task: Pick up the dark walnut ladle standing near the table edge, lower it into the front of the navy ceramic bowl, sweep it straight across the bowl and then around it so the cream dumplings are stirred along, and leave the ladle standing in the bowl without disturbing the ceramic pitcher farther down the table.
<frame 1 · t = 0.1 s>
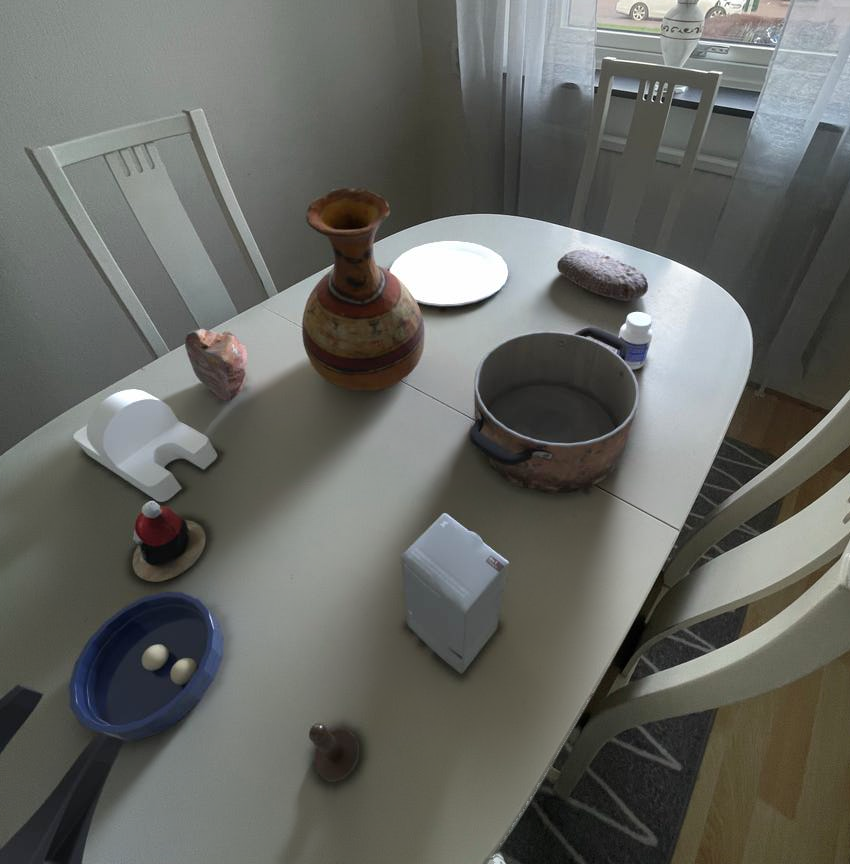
hand: (71, 711, 35), 19 cm above the table, tool horizontal, fingers open, 7 cm apart
stone: (235, 380, 87), on the table
decorative stone: (601, 284, 107), on the table
pill bottle: (628, 361, 90), on the table
figurine: (170, 550, 65), on the table
ladle: (338, 755, 49), on the table
cosmetic box: (456, 627, 58), on the table
ceramic pitcher: (370, 362, 90), on the table
tape dispenser: (152, 454, 76), on the table
dumpling b: (184, 671, 53), point 2 cm above the table, touching bowl
dumpling a: (155, 657, 54), point 2 cm above the table, touching bowl
plate: (448, 276, 110), on the table
bowl: (158, 667, 55), on the table
saucepan: (548, 434, 78), on the table
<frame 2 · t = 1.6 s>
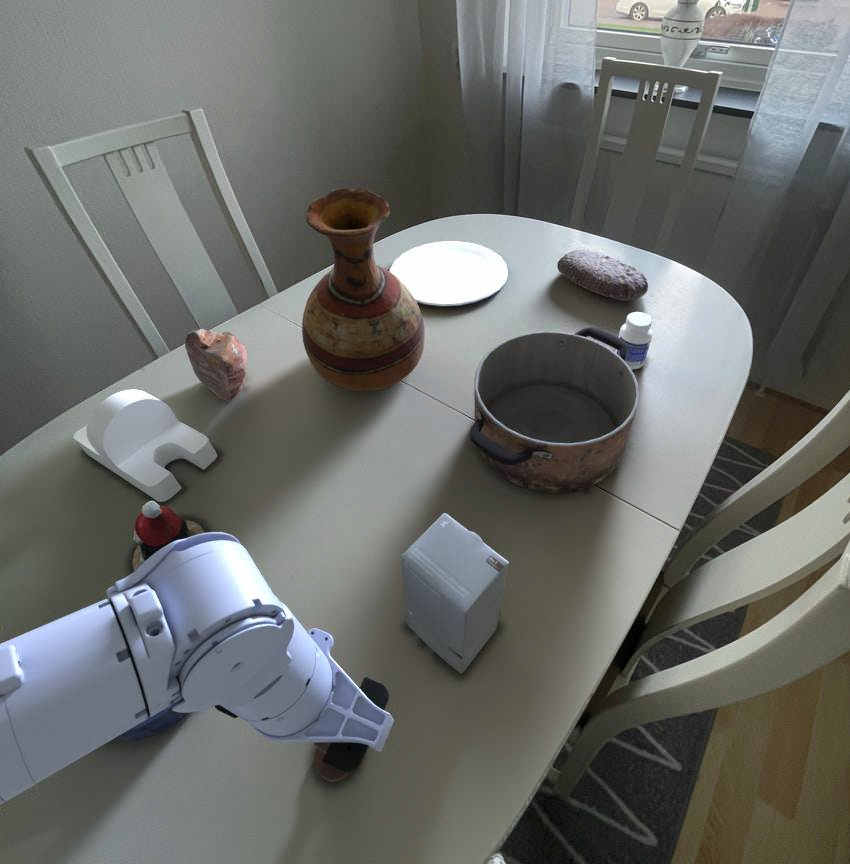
hand: (324, 718, 43), 10 cm above the table, tool pointing down, fingers open, 7 cm apart
nothing on the table moved.
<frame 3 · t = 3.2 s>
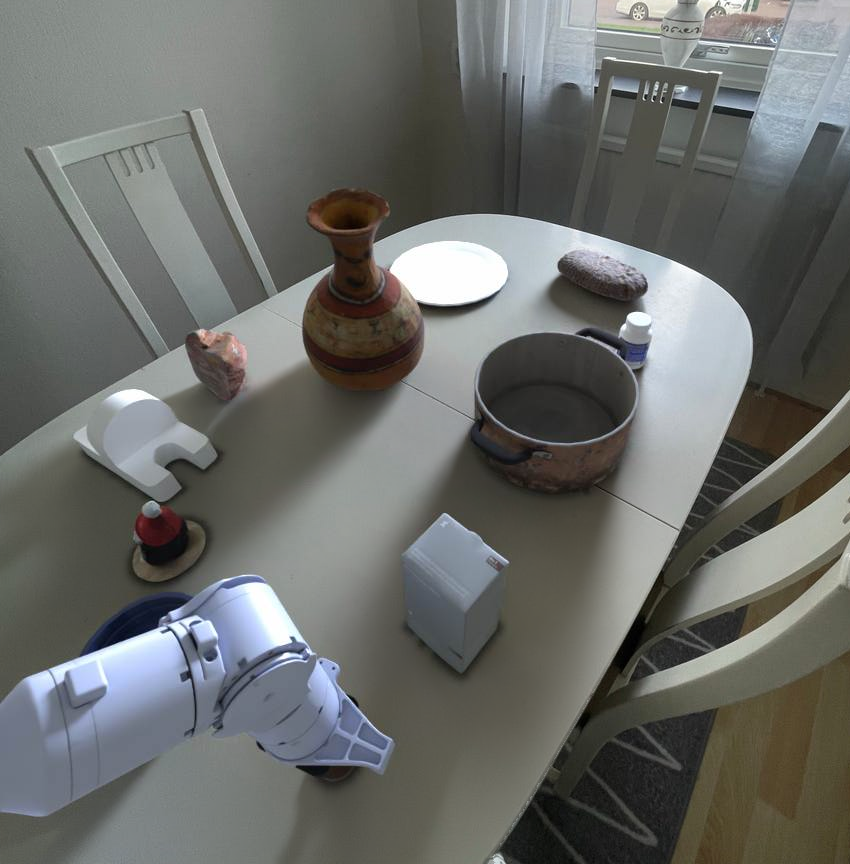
hand: (326, 742, 46), 5 cm above the table, tool pointing down, fingers closed on ladle
ladle: (338, 755, 49), on the table, touching gripper
everything else where it was.
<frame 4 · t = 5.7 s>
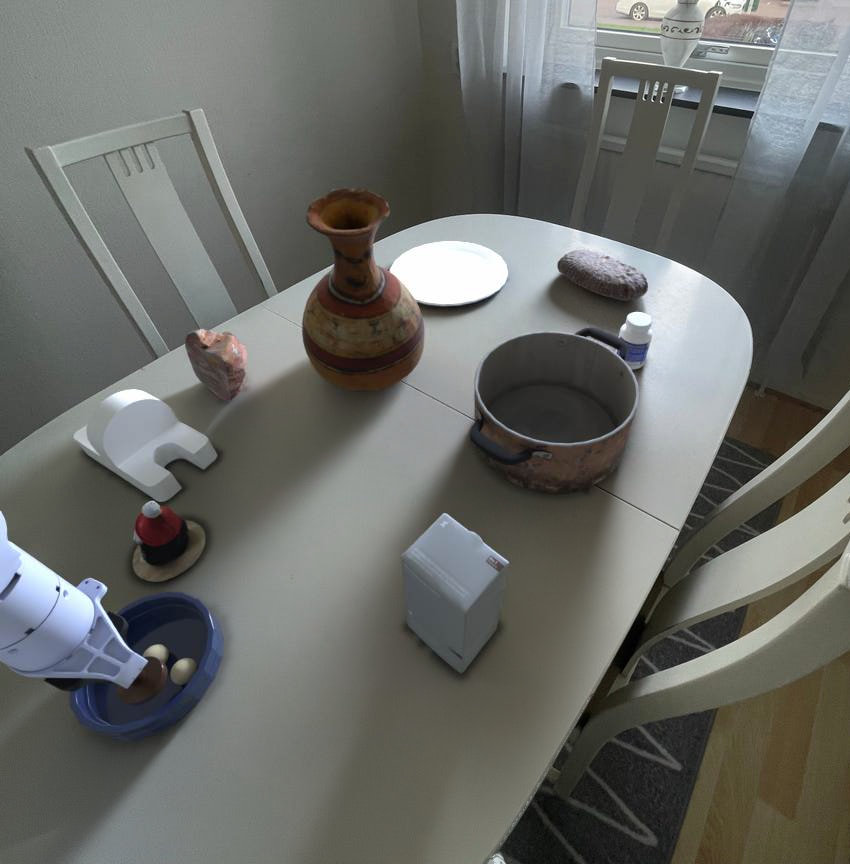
hand: (115, 665, 45), 10 cm above the table, tool pointing down, fingers closed on ladle
ladle: (145, 681, 49), point 5 cm above the table, touching gripper
everything else where it was.
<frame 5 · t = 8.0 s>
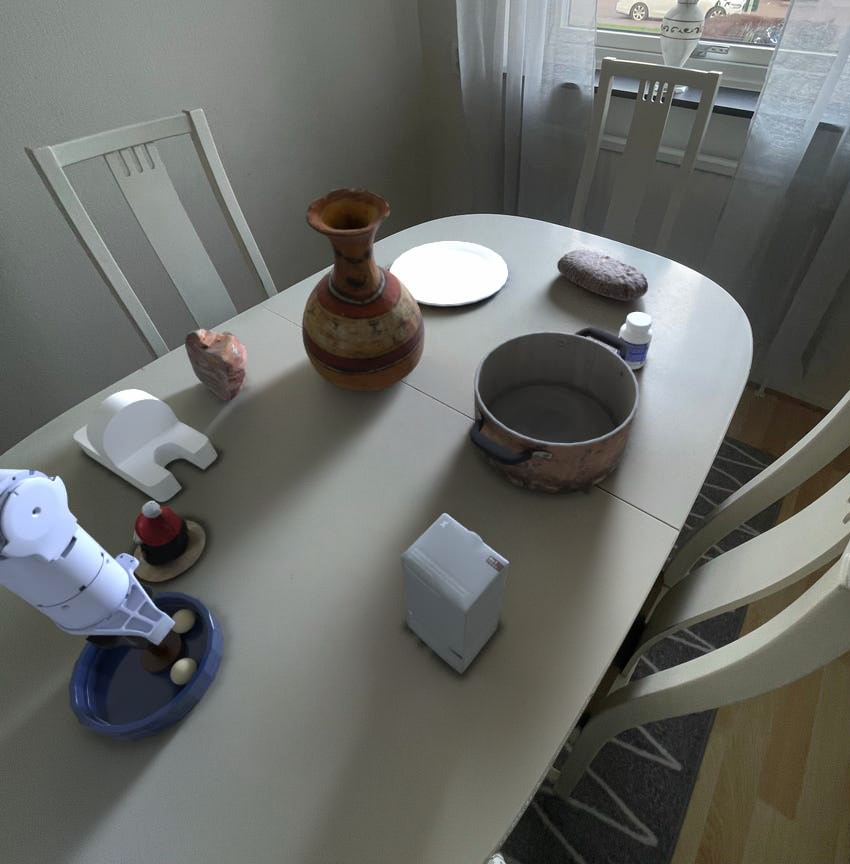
hand: (141, 635, 51), 6 cm above the table, tool pointing down, fingers closed on ladle
ladle: (164, 653, 55), point 1 cm above the table, touching gripper
dumpling a: (183, 621, 57), point 2 cm above the table, tilted 177°, touching bowl
everything else where it was.
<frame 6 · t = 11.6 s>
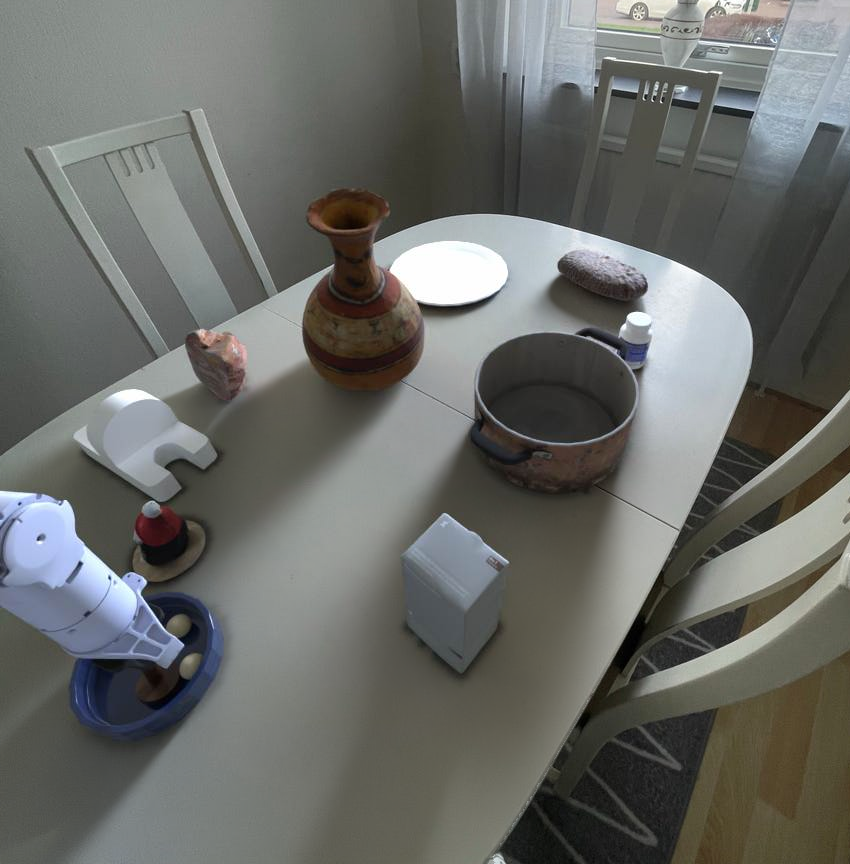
hand: (148, 655, 50), 6 cm above the table, tool pointing down, fingers closed on ladle
ladle: (160, 685, 53), point 1 cm above the table, tilted 10°, touching gripper
dumpling b: (192, 666, 53), point 2 cm above the table, tilted 34°, touching bowl
dumpling a: (179, 626, 56), point 2 cm above the table, tilted 153°, touching bowl
everything else where it was.
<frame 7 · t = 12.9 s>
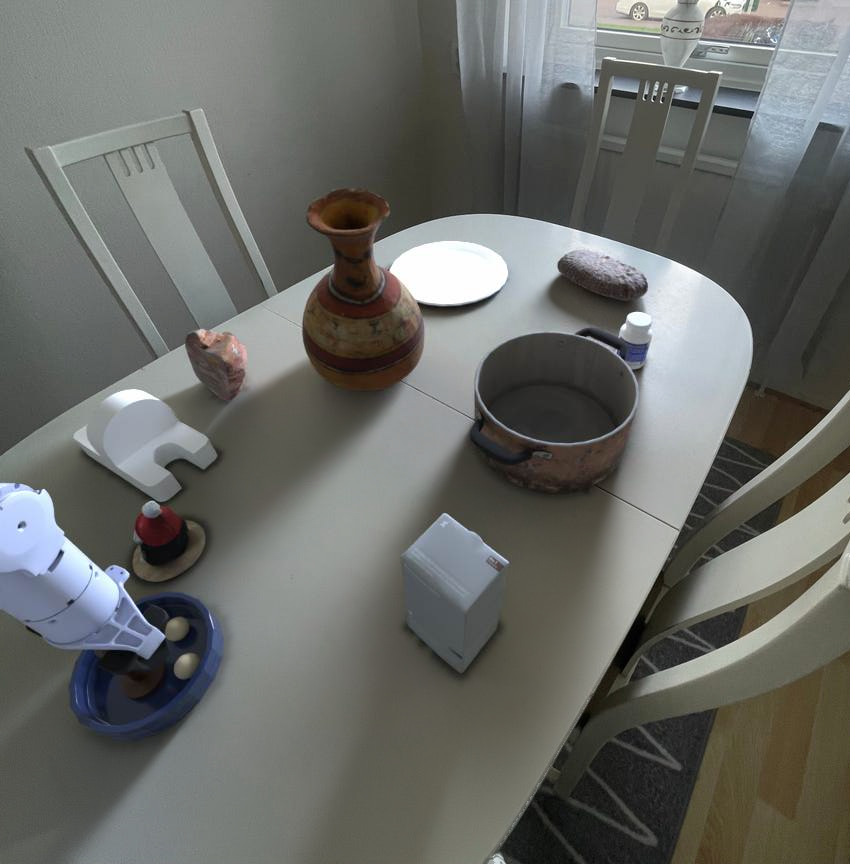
hand: (132, 647, 51), 6 cm above the table, tool pointing down, fingers open, 6 cm apart
ladle: (146, 678, 54), resting on bowl
dumpling b: (187, 666, 53), point 2 cm above the table, tilted 18°, touching bowl
dumpling a: (176, 628, 56), point 2 cm above the table, tilted 138°, touching bowl
everything else where it was.
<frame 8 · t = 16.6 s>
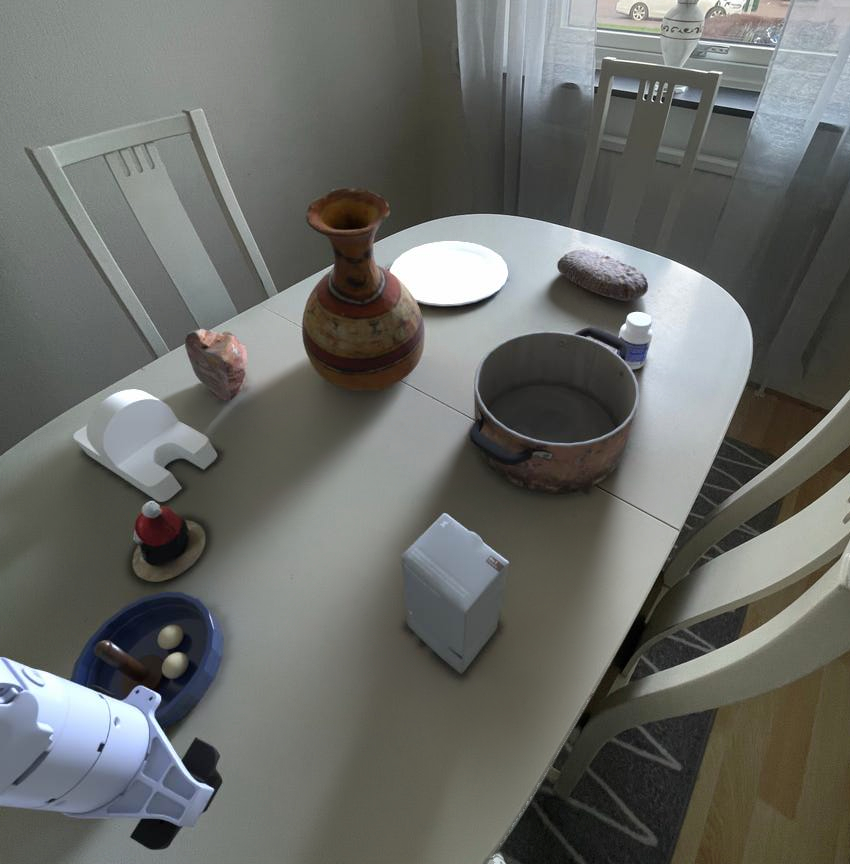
hand: (171, 772, 40), 10 cm above the table, tool pointing down, fingers open, 7 cm apart
dumpling b: (175, 665, 53), point 2 cm above the table, tilted 60°, touching bowl
dumpling a: (170, 637, 55), point 2 cm above the table, tilted 95°, touching bowl
everything else where it was.
at the end: ladle inside the target area in the bowl (1.3 cm from its centre), point 0.5 cm above the bowl's base; dumpling a moved 2.1 cm from its start; ceramic pitcher moved 0.2 cm from its start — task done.
